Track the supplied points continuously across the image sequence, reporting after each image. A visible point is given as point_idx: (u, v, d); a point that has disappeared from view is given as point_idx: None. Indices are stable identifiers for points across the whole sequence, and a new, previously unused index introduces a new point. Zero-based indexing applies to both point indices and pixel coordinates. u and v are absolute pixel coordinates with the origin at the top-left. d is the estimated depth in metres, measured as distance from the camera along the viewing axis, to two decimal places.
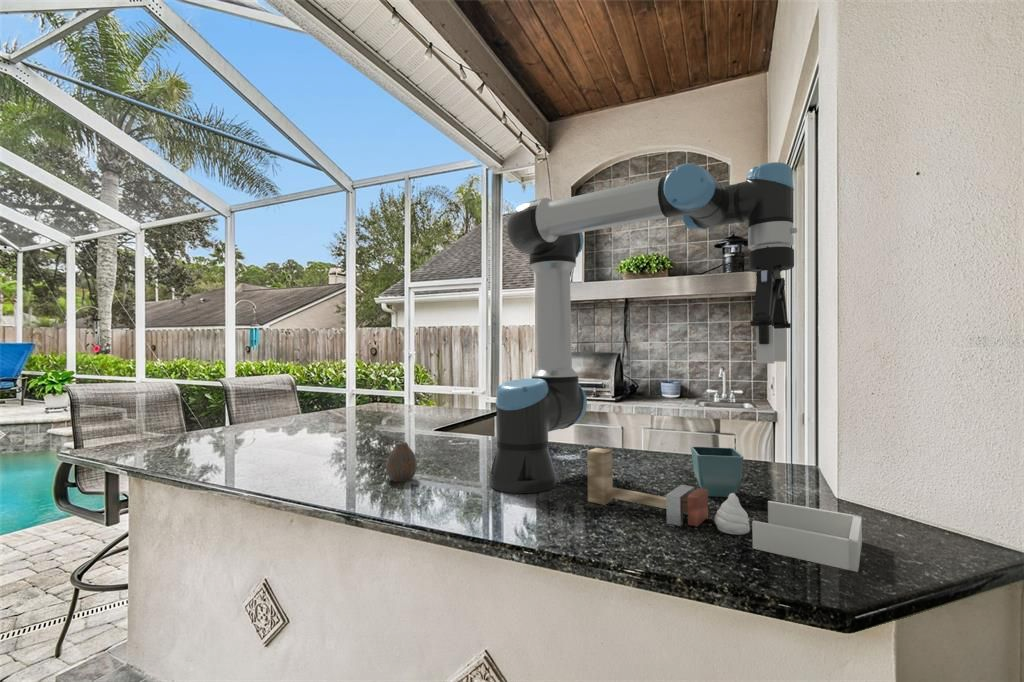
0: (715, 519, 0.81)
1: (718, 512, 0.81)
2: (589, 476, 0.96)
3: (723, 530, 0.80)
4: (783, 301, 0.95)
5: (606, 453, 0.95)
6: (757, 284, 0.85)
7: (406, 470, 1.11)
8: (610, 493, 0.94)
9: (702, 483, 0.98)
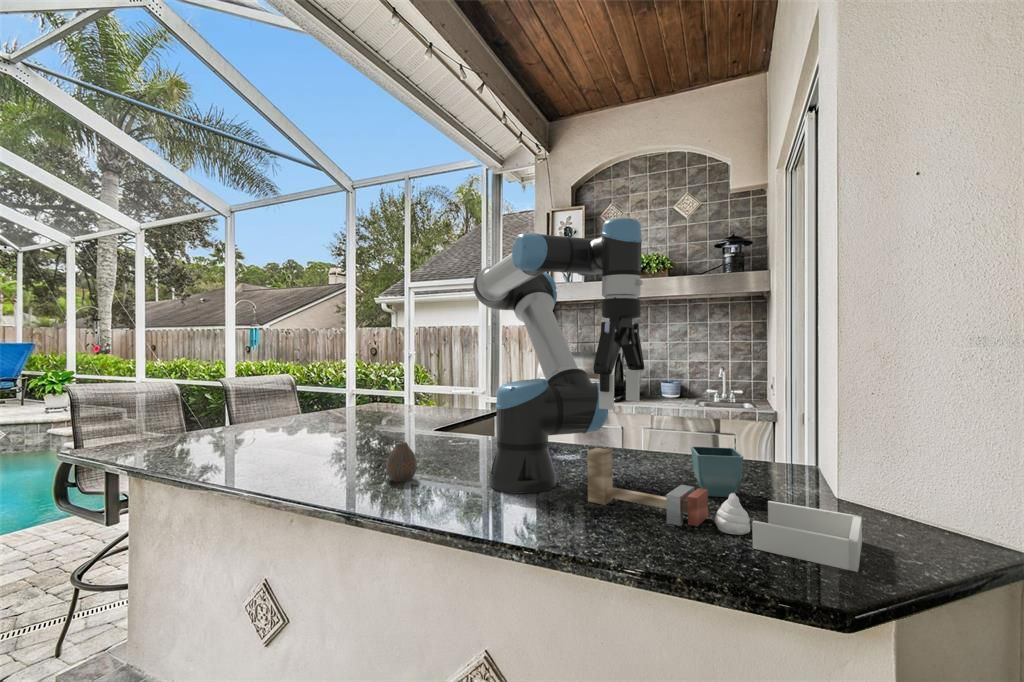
0: (715, 519, 0.81)
1: (718, 512, 0.81)
2: (589, 476, 0.96)
3: (723, 530, 0.80)
4: (637, 344, 1.01)
5: (606, 453, 0.95)
6: (601, 334, 0.91)
7: (406, 470, 1.11)
8: (610, 493, 0.94)
9: (702, 483, 0.98)
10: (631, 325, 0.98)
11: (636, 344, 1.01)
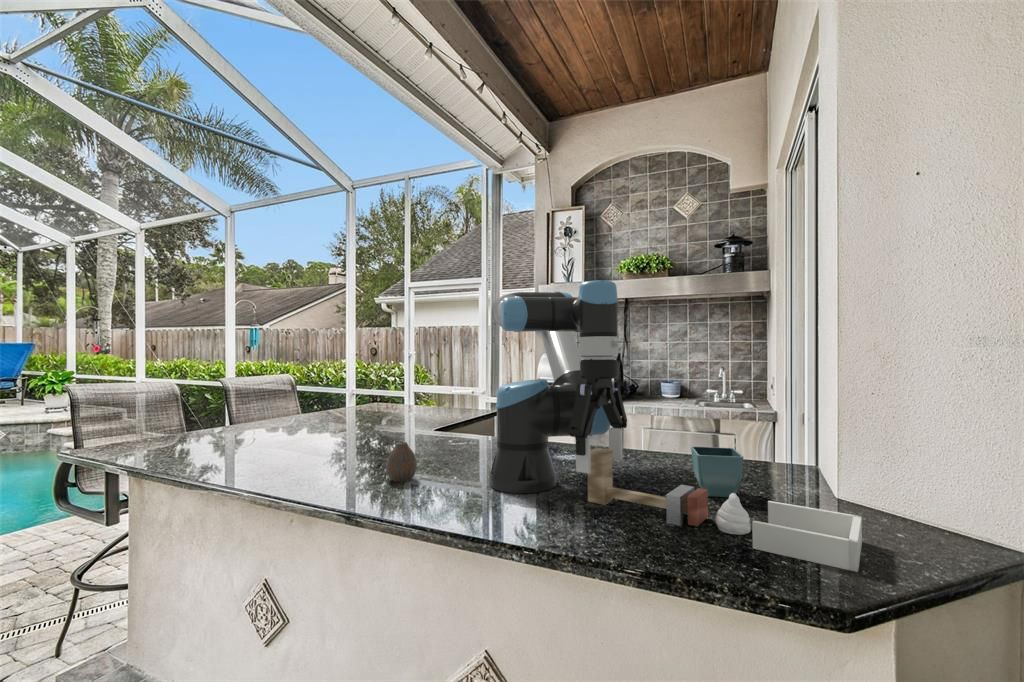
0: (716, 519, 0.81)
1: (719, 512, 0.81)
2: (589, 476, 0.96)
3: (724, 530, 0.80)
4: (619, 402, 1.01)
5: (606, 453, 0.95)
6: (576, 397, 0.91)
7: (406, 470, 1.11)
8: (610, 493, 0.94)
9: (702, 483, 0.98)
10: (610, 384, 0.98)
11: (618, 402, 1.01)
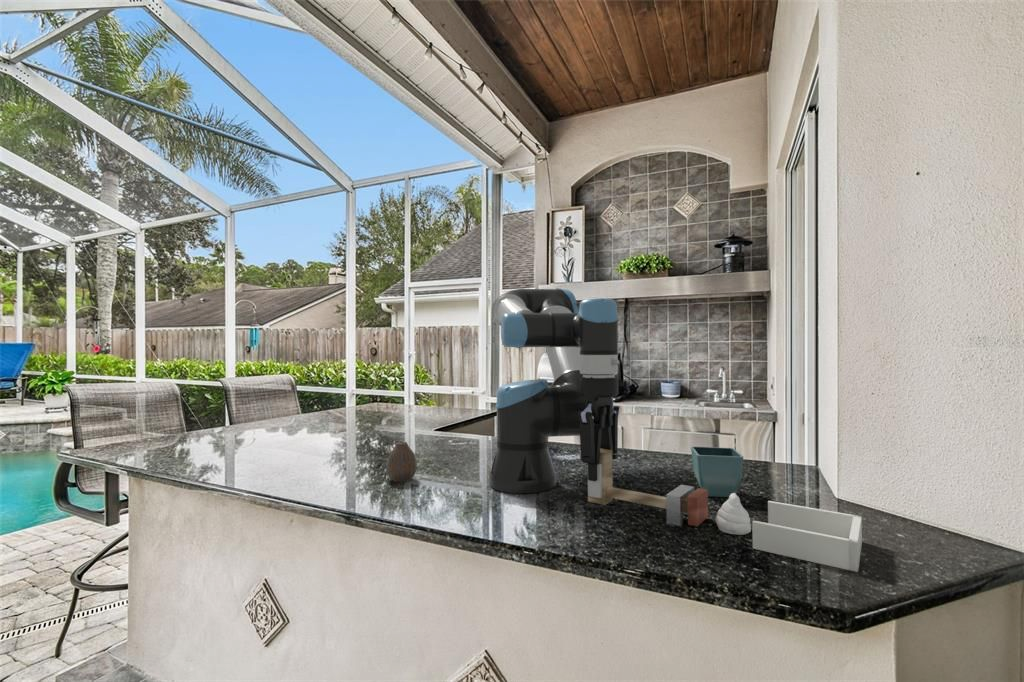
0: (716, 519, 0.81)
1: (719, 512, 0.81)
2: None
3: (724, 530, 0.80)
4: (614, 427, 0.99)
5: (606, 453, 0.95)
6: (580, 425, 0.92)
7: (406, 470, 1.11)
8: (610, 493, 0.94)
9: (702, 483, 0.98)
10: (611, 401, 0.98)
11: (613, 427, 1.00)
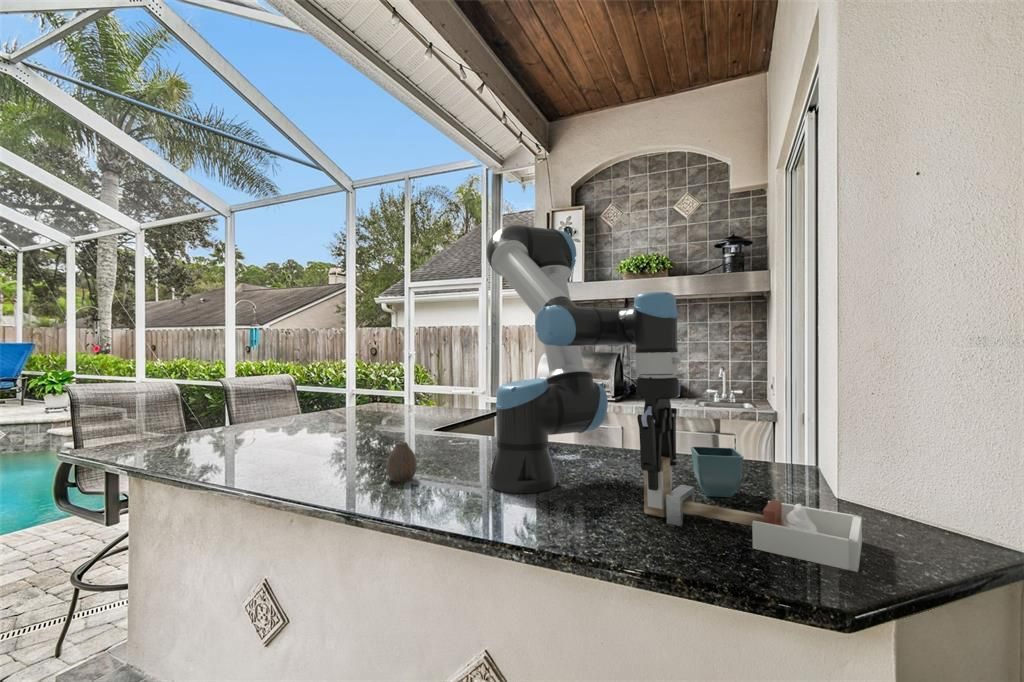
0: None
1: (783, 524, 0.75)
2: (646, 486, 0.88)
3: None
4: (672, 431, 0.92)
5: (665, 461, 0.87)
6: (640, 429, 0.85)
7: (406, 470, 1.11)
8: None
9: (702, 483, 0.98)
10: (669, 403, 0.91)
11: (671, 431, 0.92)
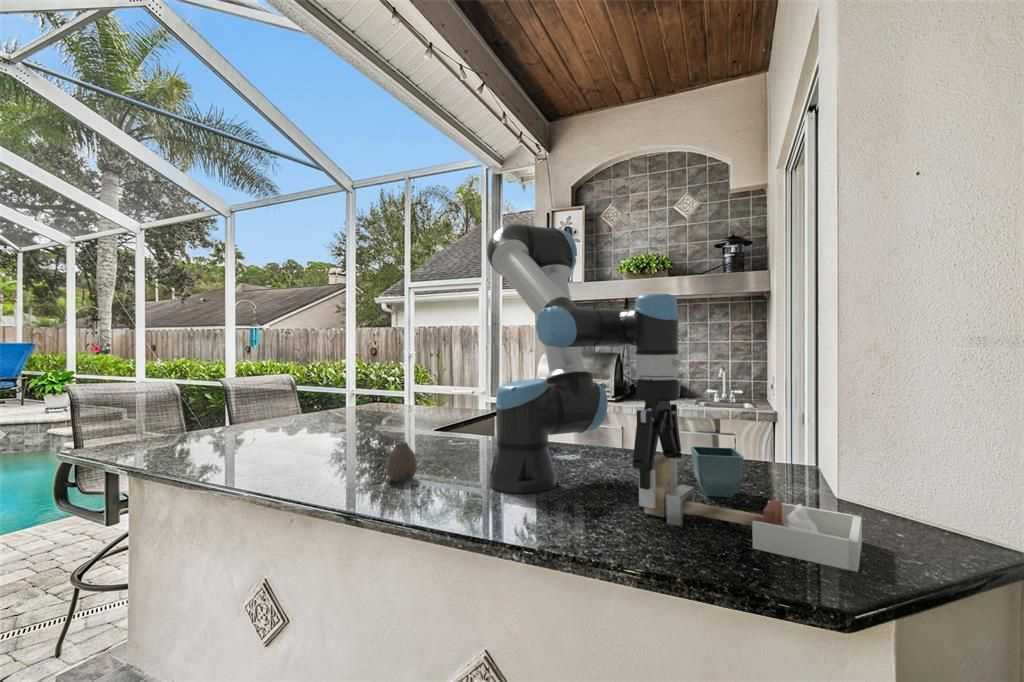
0: None
1: (784, 524, 0.75)
2: None
3: None
4: (674, 428, 0.93)
5: (665, 461, 0.87)
6: (637, 425, 0.84)
7: (406, 470, 1.11)
8: None
9: (702, 483, 0.98)
10: (669, 405, 0.91)
11: (673, 427, 0.93)
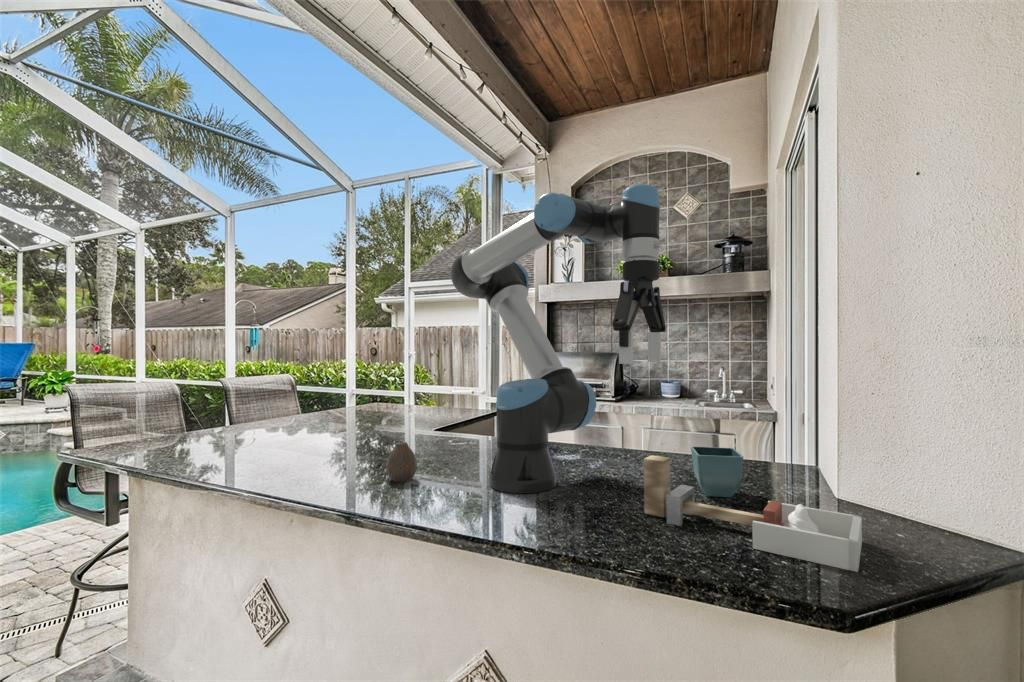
0: None
1: (784, 524, 0.75)
2: (646, 486, 0.88)
3: None
4: (658, 308, 1.06)
5: (665, 461, 0.87)
6: (620, 293, 0.96)
7: (406, 470, 1.11)
8: None
9: (702, 483, 0.98)
10: (651, 287, 1.03)
11: (657, 307, 1.06)
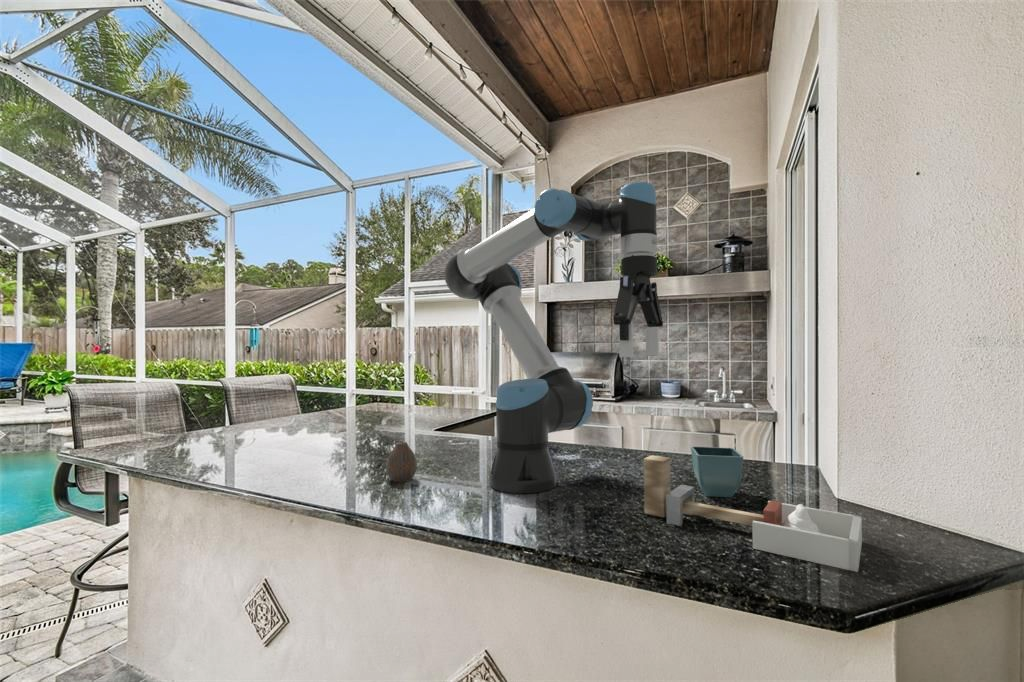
0: None
1: (785, 524, 0.75)
2: (646, 486, 0.88)
3: None
4: (655, 303, 1.08)
5: (665, 461, 0.87)
6: (620, 288, 0.98)
7: (406, 470, 1.11)
8: None
9: (702, 483, 0.98)
10: (649, 283, 1.05)
11: (654, 302, 1.08)
